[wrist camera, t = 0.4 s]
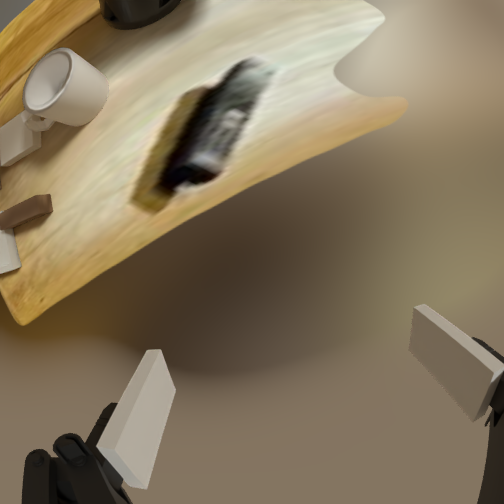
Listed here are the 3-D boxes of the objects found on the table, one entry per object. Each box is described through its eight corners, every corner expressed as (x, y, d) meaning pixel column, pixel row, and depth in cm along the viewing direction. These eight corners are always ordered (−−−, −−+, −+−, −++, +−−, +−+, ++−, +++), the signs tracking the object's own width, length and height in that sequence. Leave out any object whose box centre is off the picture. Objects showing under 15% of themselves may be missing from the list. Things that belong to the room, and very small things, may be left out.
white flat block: (9, 129, 34) (0, 128, 31) (41, 108, 33) (32, 104, 31) (10, 166, 35) (0, 166, 32) (42, 147, 35) (32, 145, 32)
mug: (61, 153, 35) (20, 147, 25) (41, 115, 33) (3, 104, 23) (119, 95, 34) (86, 71, 24) (94, 60, 32) (63, 36, 22)
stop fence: (11, 212, 37) (-3, 214, 33) (50, 194, 37) (36, 195, 33) (13, 227, 37) (0, 230, 34) (53, 211, 37) (39, 213, 33)
